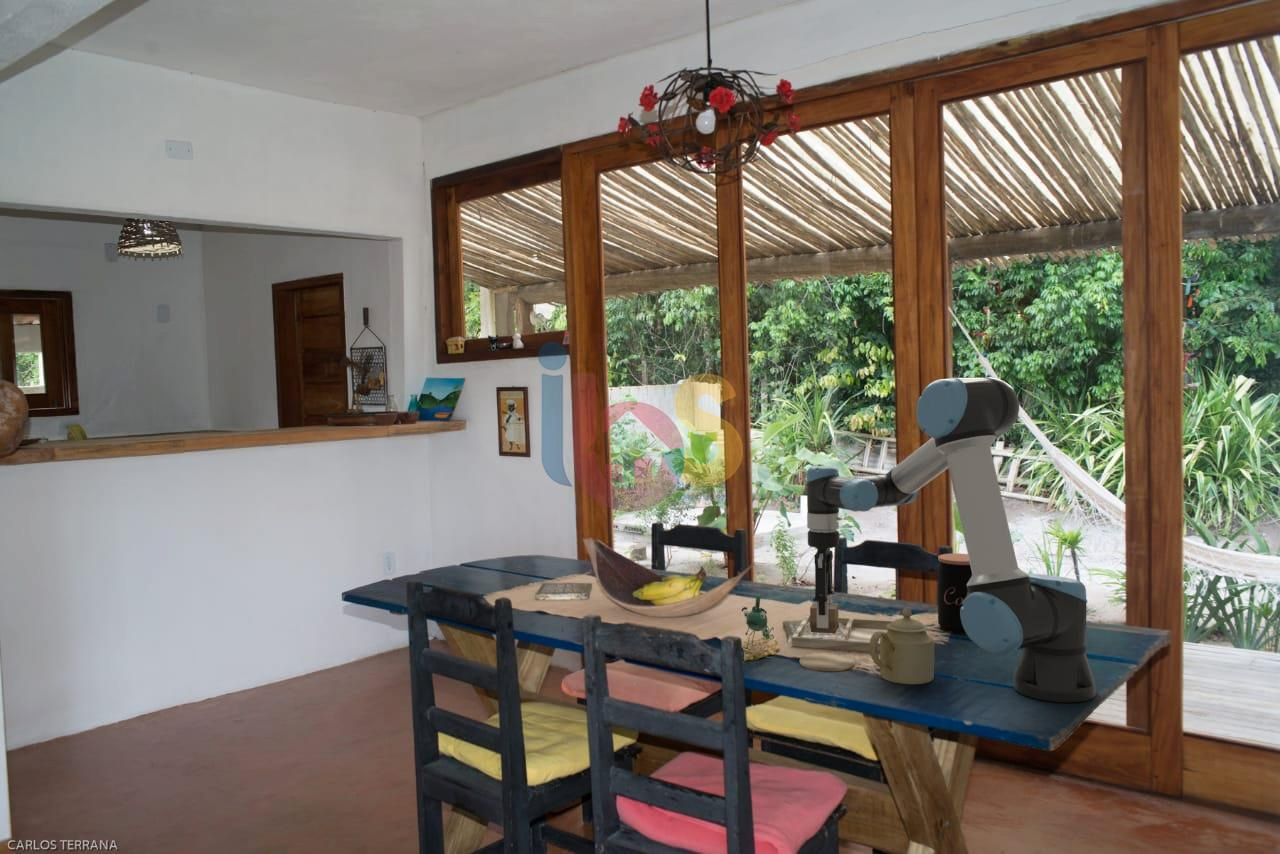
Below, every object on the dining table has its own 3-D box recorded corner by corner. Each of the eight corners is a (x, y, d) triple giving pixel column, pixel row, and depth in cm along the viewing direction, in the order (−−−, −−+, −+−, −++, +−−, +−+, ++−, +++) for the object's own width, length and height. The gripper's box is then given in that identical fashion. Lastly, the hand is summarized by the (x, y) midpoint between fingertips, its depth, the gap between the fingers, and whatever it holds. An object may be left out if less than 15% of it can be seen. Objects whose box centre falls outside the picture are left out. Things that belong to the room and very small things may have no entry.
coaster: (851, 673, 209) (851, 671, 209) (795, 668, 213) (795, 666, 213) (857, 657, 220) (857, 655, 220) (804, 653, 224) (804, 651, 224)
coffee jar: (939, 633, 240) (939, 560, 239) (936, 622, 250) (936, 552, 249) (985, 635, 237) (985, 561, 236) (980, 624, 248) (980, 553, 247)
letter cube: (835, 633, 234) (835, 608, 233) (810, 632, 235) (810, 607, 235) (838, 627, 239) (838, 602, 239) (814, 626, 241) (813, 601, 241)
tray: (892, 655, 222) (892, 644, 222) (791, 647, 229) (791, 637, 229) (898, 630, 243) (898, 620, 243) (806, 624, 250) (806, 615, 250)
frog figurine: (797, 646, 231) (794, 586, 228) (757, 674, 217) (753, 610, 215) (762, 640, 237) (759, 581, 234) (721, 666, 223) (717, 603, 221)
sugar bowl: (921, 693, 195) (921, 619, 195) (867, 685, 201) (867, 613, 200) (940, 673, 208) (939, 603, 207) (888, 666, 214) (888, 598, 213)
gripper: (834, 536, 226) (835, 635, 227) (843, 524, 244) (844, 616, 245) (801, 535, 228) (803, 633, 229) (813, 523, 246) (814, 614, 247)
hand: (824, 624), depth 237 cm, fingers closed on letter cube, 6 cm apart
